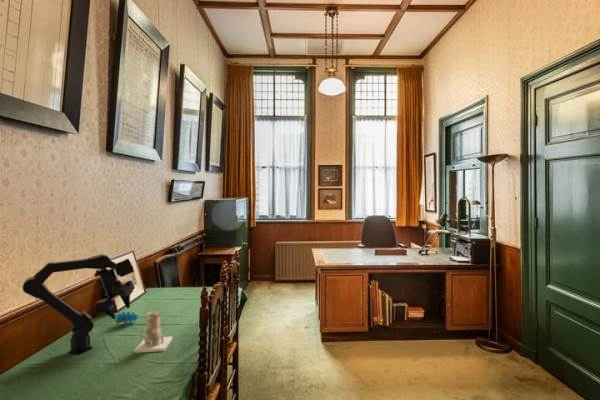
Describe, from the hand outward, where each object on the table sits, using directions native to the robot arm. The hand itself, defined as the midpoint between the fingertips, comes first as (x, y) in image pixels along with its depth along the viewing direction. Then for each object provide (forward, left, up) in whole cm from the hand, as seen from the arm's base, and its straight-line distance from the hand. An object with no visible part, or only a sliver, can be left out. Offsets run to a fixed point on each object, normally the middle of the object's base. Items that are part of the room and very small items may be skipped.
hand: (121, 313), depth 154 cm
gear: (+16, +14, -13) cm, 25 cm away
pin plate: (-1, -19, -12) cm, 22 cm away
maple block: (-1, -19, -11) cm, 22 cm away
